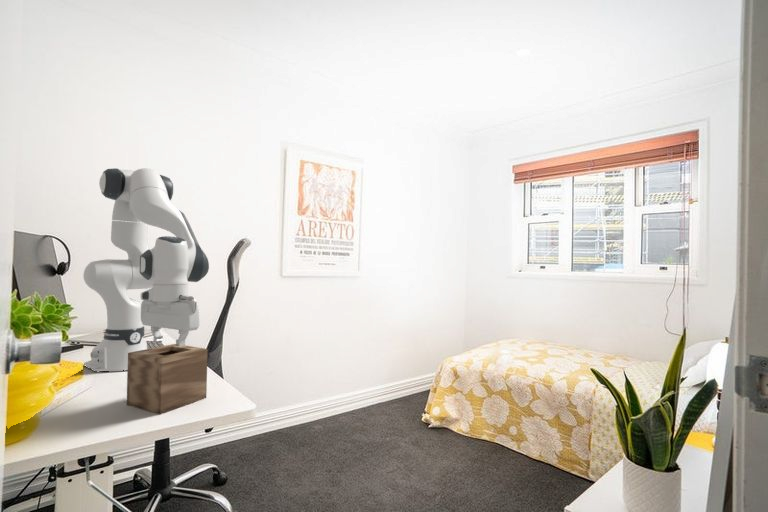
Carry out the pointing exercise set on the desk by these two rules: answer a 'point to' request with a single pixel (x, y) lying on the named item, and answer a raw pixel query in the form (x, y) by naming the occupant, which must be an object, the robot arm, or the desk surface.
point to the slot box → (166, 377)
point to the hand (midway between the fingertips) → (169, 344)
